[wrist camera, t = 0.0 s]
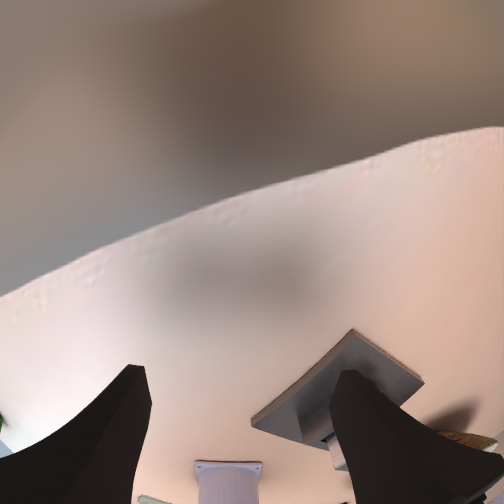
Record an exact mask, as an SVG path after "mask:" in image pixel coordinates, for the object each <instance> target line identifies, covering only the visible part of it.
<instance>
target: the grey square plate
mask: <svg viewBox="0 0 504 504" xmlns="http://www.w3.org/2000/svg"><path fill="white" fill-rule="evenodd" d="M353 369H356V370H357V371H358V372H360V373H361V374H362V375H363V376H364V377H365V378H366V379H367V380H368V381H370V382H371V383H372V384H373V385H374V386H375V387H376V388H377V389H378V390H380V391H381V392H382V393H383V394H384V395H385V396H386V397H388V398H389V399H390V400H391V401H392V402H393V403H395V404H396V405H397V406H398V407H400V406H401V405H402V404H403V403H404V402H406V401H407V400H408V399H409V398H410V397H411V396H412V395H413V394H414V393H416V392H417V391H418V390H419V389H420V388H421V387H422V386H423V385H424V384H425V383H424V381H423V380H422V379H421V378H420V377H419V376H418V375H416V374H415V373H413V372H412V371H411V370H409V369H408V368H406V367H405V366H404V365H402V364H401V363H399V362H398V361H397V360H395V359H394V358H392V357H391V356H390V355H388V354H387V353H385V352H384V351H383V350H381V349H380V348H378V347H377V346H376V345H374V344H373V343H371V342H370V341H369V340H367V339H366V338H364V337H363V336H362V335H360V334H359V333H357V332H356V331H355V330H353V329H352V330H351V331H350V332H349V333H348V334H347V335H346V336H345V337H344V338H343V339H342V340H341V341H340V342H339V343H338V344H337V345H336V346H335V347H334V348H333V349H332V350H331V351H330V352H329V353H328V354H327V355H326V356H325V357H323V358H322V359H321V360H320V361H319V362H318V363H317V364H316V365H315V366H314V367H313V368H312V369H310V370H309V371H308V372H307V373H306V374H305V375H304V376H303V377H302V378H300V379H299V380H298V381H297V382H296V383H295V384H294V385H292V386H291V387H290V388H289V389H288V390H286V391H285V392H284V393H283V394H282V395H281V396H279V397H278V398H277V399H276V400H274V401H273V402H272V403H271V404H269V405H268V406H267V407H266V408H264V409H263V410H262V411H261V412H259V413H258V414H257V415H255V416H254V417H253V418H251V426H252V427H254V428H256V429H259V430H262V431H265V432H268V433H271V434H274V435H277V436H280V437H283V438H286V439H289V440H292V441H296V442H299V443H302V444H305V445H308V446H312V447H316V448H320V449H324V450H328V451H329V447H328V444H327V441H326V438H325V437H327V436H328V435H329V434H331V433H332V432H334V428H333V424H332V420H331V415H330V410H329V403H330V401H331V398H332V395H333V393H334V390H335V387H336V384H337V382H338V379H339V376H340V373H341V371H342V370H353Z"/></svg>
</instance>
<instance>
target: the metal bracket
mask: <svg viewBox="0 0 504 504" xmlns="http://www.w3.org/2000/svg"><path fill="white" fill-rule="evenodd" d="M137 501H138V502H139V503H142V504H171V503H167V502H164V501H161V500H159V499H156V498H153V497H150V496H146V495H141V496H140V498H139V499H138V500H137Z"/></svg>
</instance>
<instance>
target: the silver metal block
mask: <svg viewBox="0 0 504 504" xmlns="http://www.w3.org/2000/svg"><path fill="white" fill-rule="evenodd" d="M325 438H326V441H327V444H328V447H329V451H330V454H331V457H332V460H333V465H334V468H335V470H341V471H348V472H349V470H348V467H347V464H346V461H345V459H344V456H343V453H342V451H341V448H340V445H339V442H338V440H337V437H336V434H335V431H334V432H332V433H331V434H329V435H328V436H327V437H325Z"/></svg>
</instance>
